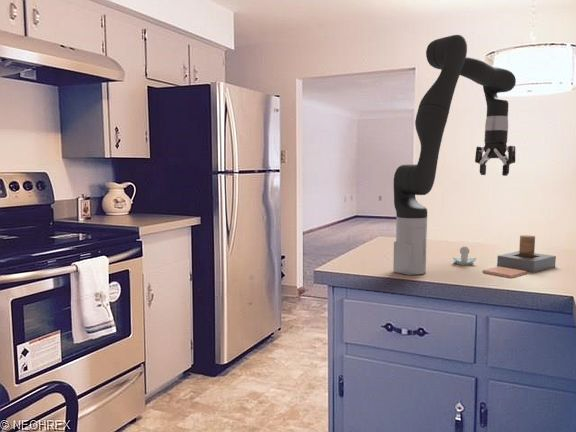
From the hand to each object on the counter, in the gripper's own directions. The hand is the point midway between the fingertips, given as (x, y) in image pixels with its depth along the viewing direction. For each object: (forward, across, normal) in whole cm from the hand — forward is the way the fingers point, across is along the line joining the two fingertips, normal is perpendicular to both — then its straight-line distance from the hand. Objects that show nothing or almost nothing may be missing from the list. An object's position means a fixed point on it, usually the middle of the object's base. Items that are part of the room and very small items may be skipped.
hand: (493, 175), depth 176 cm
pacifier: (+30, +4, -20) cm, 36 cm away
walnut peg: (+29, +18, -8) cm, 35 cm away
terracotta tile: (+29, +20, -23) cm, 42 cm away
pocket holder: (+29, +18, -8) cm, 35 cm away
